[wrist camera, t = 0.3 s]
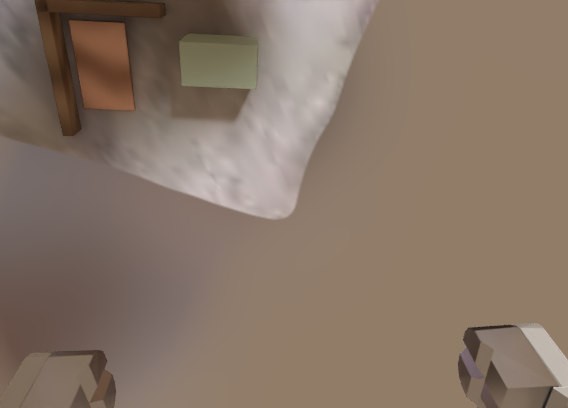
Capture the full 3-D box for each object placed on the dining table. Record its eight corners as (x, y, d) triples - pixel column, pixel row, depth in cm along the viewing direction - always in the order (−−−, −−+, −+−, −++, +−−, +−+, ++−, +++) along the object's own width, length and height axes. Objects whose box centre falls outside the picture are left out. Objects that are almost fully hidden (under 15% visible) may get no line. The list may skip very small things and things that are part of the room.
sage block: (188, 33, 49) (178, 41, 44) (258, 36, 49) (257, 45, 44) (190, 73, 51) (181, 85, 46) (257, 76, 51) (256, 89, 46)
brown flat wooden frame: (44, -6, 46) (33, -4, 44) (164, 1, 47) (159, 3, 45) (71, 128, 54) (63, 135, 52) (174, 132, 54) (170, 139, 52)
